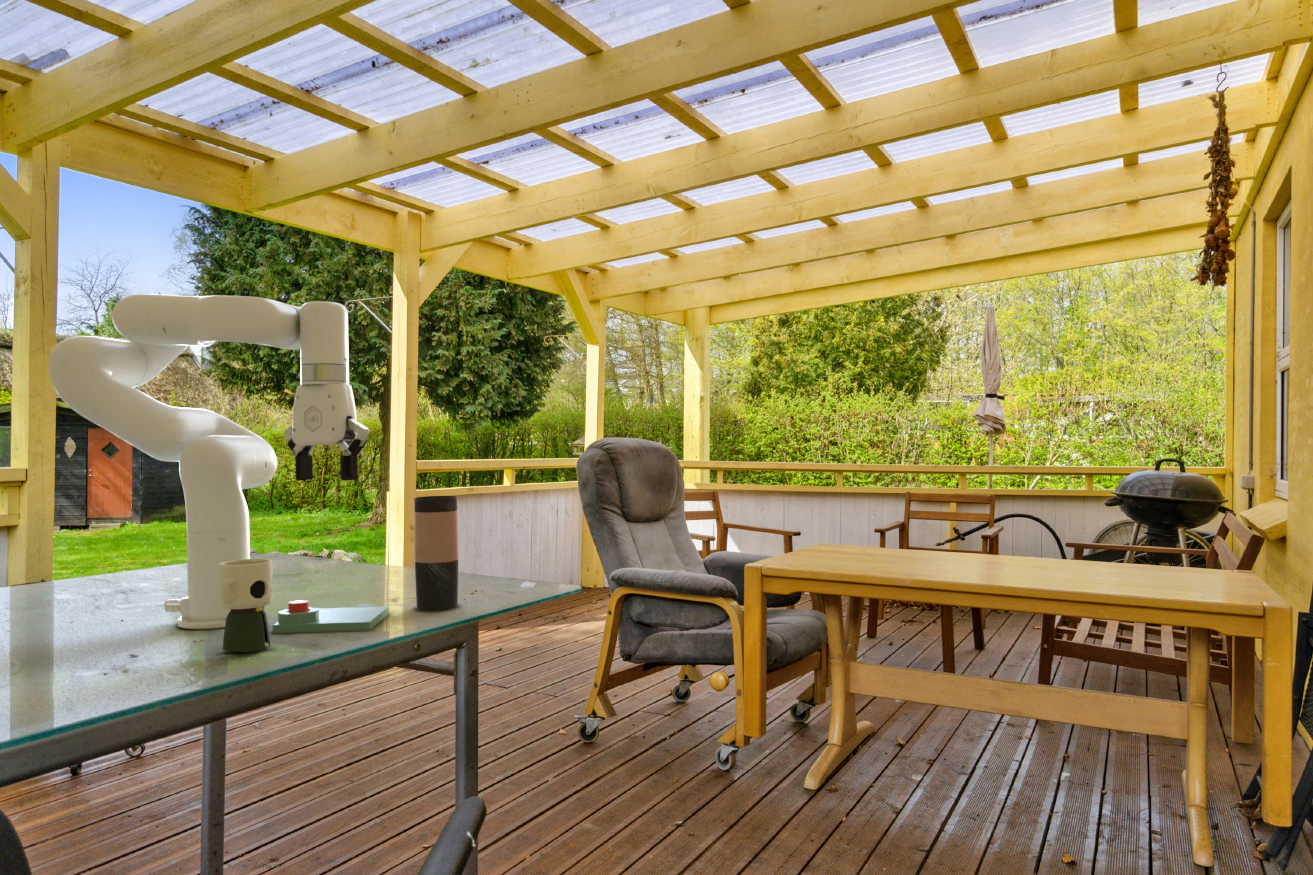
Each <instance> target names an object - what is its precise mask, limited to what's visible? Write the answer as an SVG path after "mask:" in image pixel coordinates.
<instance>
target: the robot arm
mask: <svg viewBox="0 0 1313 875" xmlns="http://www.w3.org/2000/svg"><path fill="white" fill-rule="evenodd" d="M111 321H112V324H113V326H114V328H115V330H116V331H117V332H118V333H119V334H120V335H121V336H122V337H124V338H126V339H128V340H123V339H121V340H120V339H116V338H108V337H102V336H96V335H95V336H93V335H80V336H79V335H77V336H72V337H68V338H65V339H63V340H61V341H59V342H57V343H56V344H55V346H54V347H53V348H52V349H51V351H50V352H49V356H48V362H47V364H48V365H47V366H48V375H49V379H50V381H51V384H52V386H53V388H54V390H55V392H56V393H57V395H58V397H59V398H60V399H61V400H62V401H63V402H64V404H65V405H66V406H68V408H70V409H71V410H73V411H74V412H76V413H77V414H78V415H79V416H81V417H82V418H84V419H86V420H88V421H89V422H91V423H93V424H94V425H97V426H99V427H100V428H102V429H104V430H106V431H107V432H109V433H111V434H112V435H114V436H116V437H117V438H118V439H120V440H122V441H124V442H125V443H127V444H128V445H131V446H132V447H134V448H136V449H137V450H140V451H141V452H142V453H145V454H146V455H148V456H149V457H151V458H152V459H155V460H157V461H161V462H169V463H170V462H171V463H172V462H173V463H175V462H176V463H177V462H178V471H179V478H180V483H181V486H182V490H183V496H184V502H185V519H186V522H185V523H186V568H187V569H186V570H187V578H186V579H187V595H186V596H185V597H181V598H180V599H179V598H177V599H176V598H174V599H173V598H172V599H166V600H165V601H164V604H163V608H164V611H165V613H176V612H179V613H181V616H180V617H178V618H177V627H179V628H182V629H188V630H212V629H223V628H224V629H225V623H226V618H227V615H228V613H229V612H230V609H225V608H221V607H220V604H219V564H220V563H222V562H227V561H234V560H244V559H251V537H250V535H251V530H250V529H251V528H250V526H251V525H250V511H249V507H248V503H247V501H246V498H245V495H244V492H243V490H248V489H254V488H255V489H256V488H258V487H261V486H263V485H265V484H266V483H268V482H269V481H270V480H271V479H273V477H274V475H275V474H276V471H277V468H278V459H277V454H276V452H275V449H274V448H273V446H272V445H271V444H270V443H269V442H268V441H267V440H266V439H264V438H263V437H261V436H260V435H258V434H257V433H255V432H253V431H251V430H249V429H247V428H245V427H244V426H242V425H240V424H238V423H236V422H234V421H233V420H231V419H229V418H227V417H226V416H223V415H222V414H220V413H217V412H215V411H212V410H209V409H206V408H198V407H182V406H173V405H169V404H166V403H163V402H161V401H159V400H157V399H155V398H153V397H152V396H150V395H148V394H146V393H145V392H143V391H142V390H139V389H137V387H142V386H144V385H145V384H147V383H150V382H151V381H152V380H153V379H155V378H156V377H157V376H159V374H161V372H162V371H163V370H165V369H166V368H167V367H168V366H169V365H170V364H171V363H173V362H174V361H175V360H176V359H177V358H178V357H179V356H180V355H181V354H183V352H184V351H186V350H187V349H188V347H201V348H203V347H210V346H212V345H213V344H215V343H216V342H224V343H225V342H227V343H241V344H252V345H259V346H265V347H266V346H267V347H273V348H277V349H281V350H289V351H291V350H293V351H295V350H299V357H300V360H299V361H300V371H299V372H298V374H297V375H298V379H300V385H297V386H296V390H295V394H294V402H293V410H292V424H291V425H290V426H289V427H287V428H285V430H284V431H283V435H284V437H285V439H286V442H287V447H288V449H290V450H291V455H292V456H293V457H295V465H294V466H295V480H296V481H311V480H313V478H314V473H313V472H314V465H313V463H314V461H313V459H314V458H313V455H310V454H311V453H312V451H313V449H314V448H315V446H320V445H323V446H326V445H337V446H338V448H339V449H340V451H341V452H342V453H343V455H341V456H340V480H341V481H344V482H347V481H357V480H358V478H359V475H358V474H359V472H358V468H359V466H358V465H359V464H358V462H359V461H358V457H359V456H361V455H362V450H363V449H364V447H365V446H366V444H367V442H366V441H367V439H368V437H369V435H370V428H369V427H367V426H365V425H364V424H362V423H360V422H359V421H357V411H356V404H355V396H354V391H353V387H352V384H350V360H349V358H350V357H349V356H350V354H349V353H350V352H349V349H350V347H349V346H350V345H349V344H350V343H349V312H348V309H347V307H346V306H345V305H344V304H342V303H339V302H335V301H325V300H324V301H323V300H316V301H315V300H313V301H308V302H305V303H303V304H302V305H301V306H297V305H292V304H289V303H285V302H281V301H278V300H274V299H271V298H265V297H259V296H250V295H249V296H248V295H247V296H246V295H224V294H223V295H221V294H215V295H177V294H159V293H158V294H155V293H136V294H134V293H133V294H130V295H127V296H125V297H122V298H121V299H120V300H118V301H117V302H116V304H115V305H114V307H113V308H112V312H111Z"/></svg>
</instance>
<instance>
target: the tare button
mask: <svg viewBox="0 0 1313 875" xmlns="http://www.w3.org/2000/svg"><path fill="white" fill-rule="evenodd" d="M287 603H288V609H289V613H300V612H306V611H309V607H310V605H309V603H310V602H309V600H307V599H298V600H291V601H289V602H287Z"/></svg>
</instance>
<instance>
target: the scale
mask: <svg viewBox="0 0 1313 875" xmlns="http://www.w3.org/2000/svg"><path fill="white" fill-rule="evenodd" d="M389 614H390V606H384V605H383V606H353V607H351V606H350V607H320V608H319V607H313V606H309V611H306V612H300V613H289V608H286V609H281V610H280V611H278V613H277V620H278V621H277V622H275V623H274V624H272V633H273V634H286V633H288V634H289V633H290V634H291V633H321V632H322V633H323V632H354V631H371V630H372V629H373V628H374V627H375V626H376V625H378V624H379V623H380V622H381V621H382V620H383V619H385V618H386V617H387V616H388V615H389Z"/></svg>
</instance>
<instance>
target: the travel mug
mask: <svg viewBox="0 0 1313 875" xmlns="http://www.w3.org/2000/svg"><path fill="white" fill-rule="evenodd" d="M413 501H414V503H413V504H414V505H413V506H414V507H413V508H414V512H413V514H414V572H415V573H414V576H415V579H414V580H415V600H416V609H417V610H418V611H421V612H442V611H450V610H454V609H456V608H458V602H459V601H458V600H459V528H458V527H459V524H458V497H457V496H456V495H428V496H415V497H414V498H413Z"/></svg>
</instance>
